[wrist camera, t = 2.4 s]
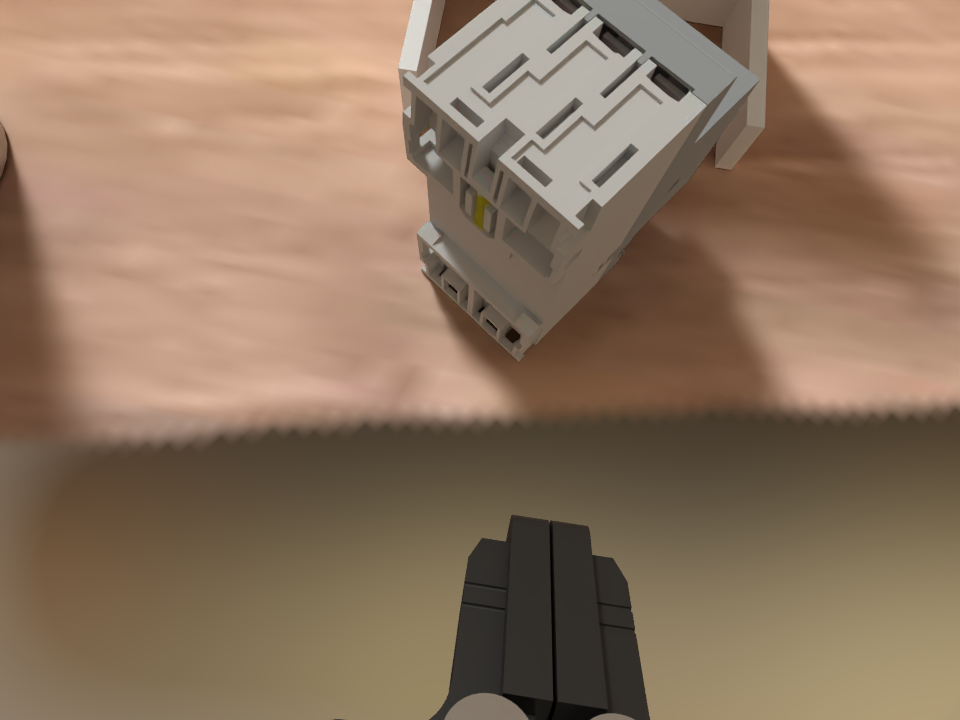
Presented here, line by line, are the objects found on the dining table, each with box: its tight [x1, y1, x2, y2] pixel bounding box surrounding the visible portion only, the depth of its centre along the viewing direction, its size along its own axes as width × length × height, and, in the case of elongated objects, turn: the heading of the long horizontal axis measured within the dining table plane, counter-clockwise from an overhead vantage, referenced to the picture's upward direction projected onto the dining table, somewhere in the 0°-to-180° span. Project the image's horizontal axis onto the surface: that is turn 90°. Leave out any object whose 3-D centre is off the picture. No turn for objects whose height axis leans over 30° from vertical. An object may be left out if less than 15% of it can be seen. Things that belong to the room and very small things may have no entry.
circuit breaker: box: [403, 0, 760, 362], centre depth 27 cm, size 8×14×15 cm, turn 136°
